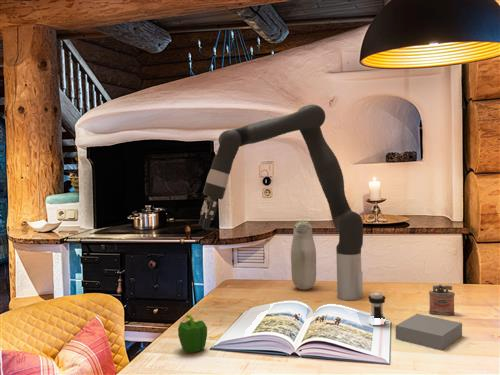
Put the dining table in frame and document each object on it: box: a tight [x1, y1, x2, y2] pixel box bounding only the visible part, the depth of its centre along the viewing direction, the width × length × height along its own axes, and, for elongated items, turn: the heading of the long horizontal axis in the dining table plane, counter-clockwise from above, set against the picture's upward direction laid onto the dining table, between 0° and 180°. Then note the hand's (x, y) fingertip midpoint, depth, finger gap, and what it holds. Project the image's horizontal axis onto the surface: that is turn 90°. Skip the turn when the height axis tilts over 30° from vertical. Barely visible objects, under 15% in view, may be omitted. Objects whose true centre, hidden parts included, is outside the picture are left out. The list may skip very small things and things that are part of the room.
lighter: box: [428, 283, 456, 317], centre depth 170 cm, size 8×3×10 cm, turn 70°
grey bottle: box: [290, 220, 317, 291], centre depth 206 cm, size 10×10×28 cm
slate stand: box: [395, 313, 463, 351], centre depth 150 cm, size 14×14×4 cm
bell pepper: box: [177, 313, 208, 354], centre depth 146 cm, size 8×8×10 cm
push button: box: [367, 292, 390, 326], centre depth 162 cm, size 7×5×10 cm
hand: (203, 227), depth 180 cm, fingers open, 8 cm apart
